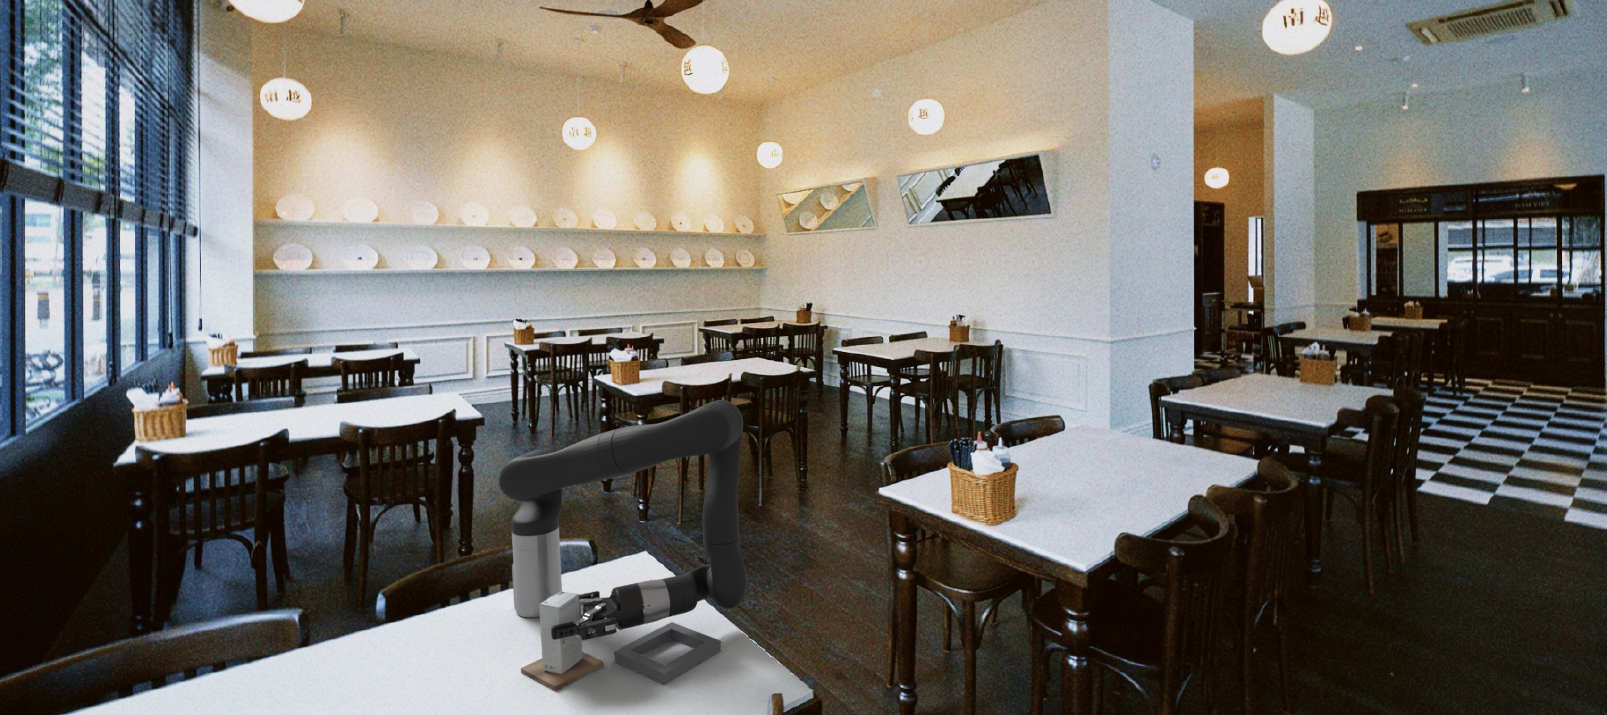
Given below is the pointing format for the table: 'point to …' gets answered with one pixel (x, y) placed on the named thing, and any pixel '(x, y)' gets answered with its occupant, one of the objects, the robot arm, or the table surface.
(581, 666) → the coaster
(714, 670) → the table surface
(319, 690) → the table surface
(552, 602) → the skincare box
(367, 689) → the table surface
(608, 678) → the table surface
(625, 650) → the socket block
